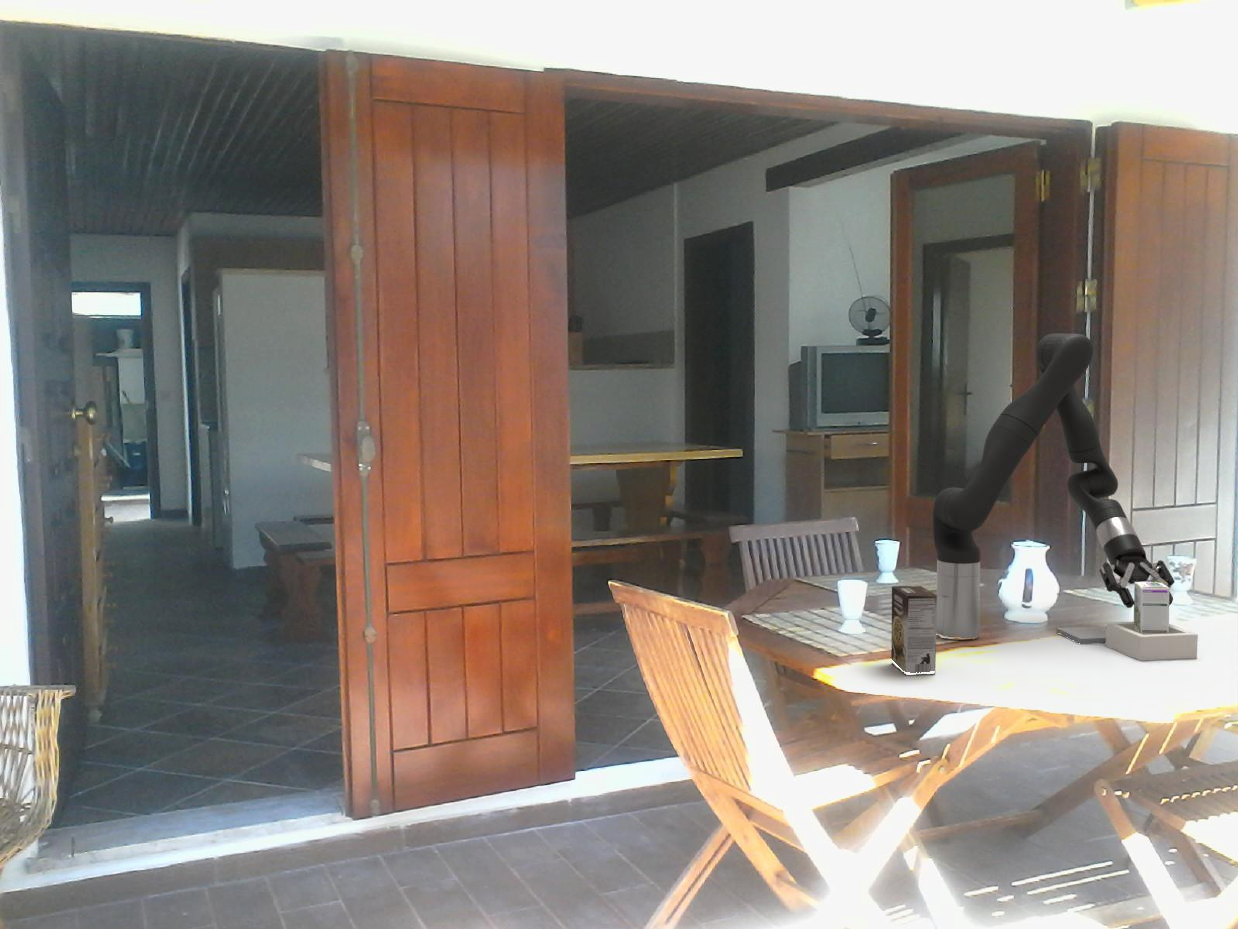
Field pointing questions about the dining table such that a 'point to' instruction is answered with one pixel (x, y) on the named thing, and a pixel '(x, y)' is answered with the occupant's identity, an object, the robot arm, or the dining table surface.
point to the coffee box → (914, 628)
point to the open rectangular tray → (1151, 642)
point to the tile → (1084, 634)
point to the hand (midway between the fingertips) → (1150, 605)
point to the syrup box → (1151, 608)
